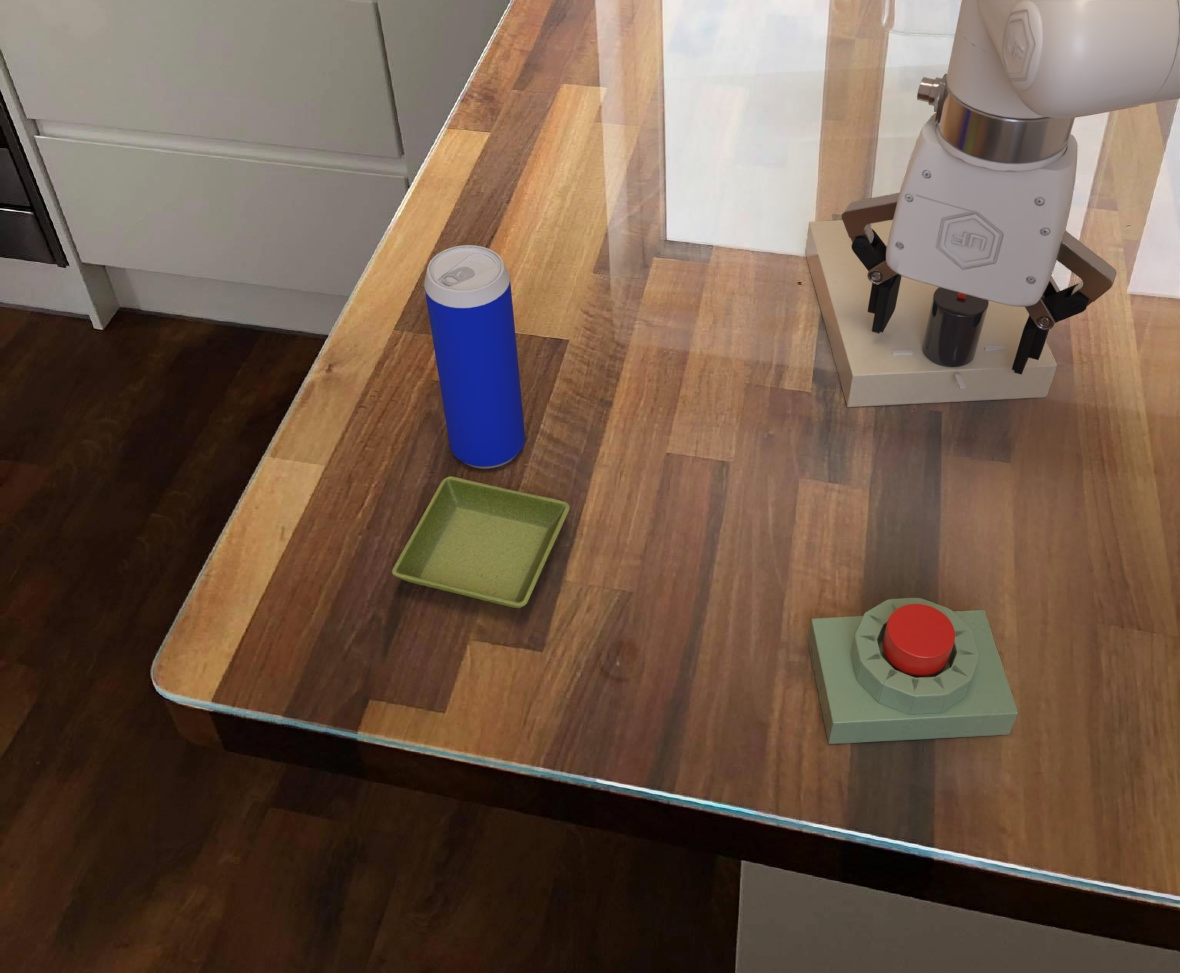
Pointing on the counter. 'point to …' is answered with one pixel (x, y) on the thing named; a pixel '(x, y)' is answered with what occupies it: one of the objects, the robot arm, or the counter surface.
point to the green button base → (908, 681)
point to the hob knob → (953, 328)
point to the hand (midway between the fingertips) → (951, 341)
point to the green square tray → (482, 542)
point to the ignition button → (918, 639)
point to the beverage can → (476, 354)
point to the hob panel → (910, 336)
